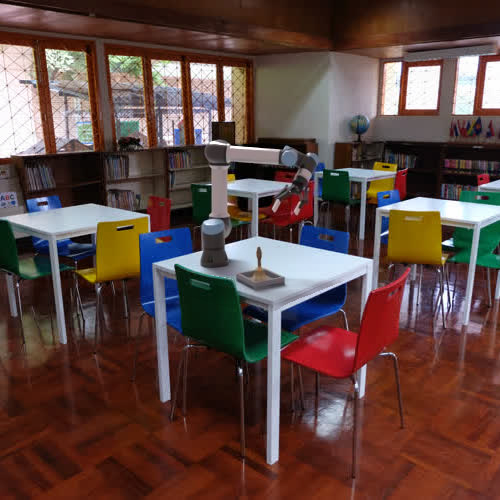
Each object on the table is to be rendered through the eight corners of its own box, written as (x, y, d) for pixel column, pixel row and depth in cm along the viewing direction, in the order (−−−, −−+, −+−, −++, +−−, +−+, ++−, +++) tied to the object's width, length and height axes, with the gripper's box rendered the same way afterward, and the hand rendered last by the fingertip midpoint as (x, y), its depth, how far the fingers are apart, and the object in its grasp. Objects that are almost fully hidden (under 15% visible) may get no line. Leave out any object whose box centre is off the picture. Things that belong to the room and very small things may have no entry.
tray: (236, 280, 239) (236, 273, 238) (264, 274, 247) (264, 268, 246) (255, 290, 224) (255, 282, 223) (284, 284, 232) (284, 277, 231)
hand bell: (258, 283, 230) (258, 250, 226) (247, 279, 236) (246, 246, 232) (272, 279, 235) (272, 247, 231) (260, 276, 241) (260, 244, 237)
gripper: (325, 185, 251) (308, 219, 244) (285, 182, 267) (268, 214, 260) (319, 175, 246) (302, 210, 239) (279, 173, 262) (261, 205, 254)
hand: (284, 212), depth 249 cm, fingers open, 13 cm apart
